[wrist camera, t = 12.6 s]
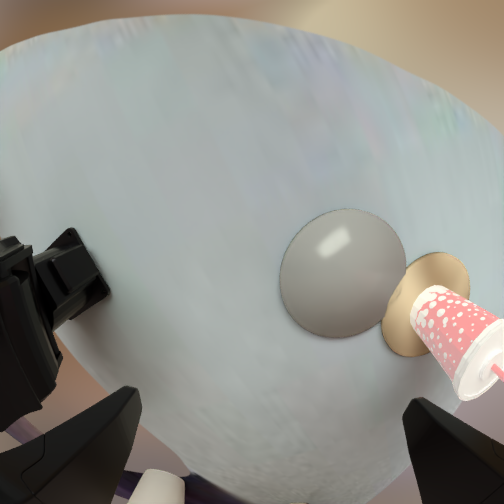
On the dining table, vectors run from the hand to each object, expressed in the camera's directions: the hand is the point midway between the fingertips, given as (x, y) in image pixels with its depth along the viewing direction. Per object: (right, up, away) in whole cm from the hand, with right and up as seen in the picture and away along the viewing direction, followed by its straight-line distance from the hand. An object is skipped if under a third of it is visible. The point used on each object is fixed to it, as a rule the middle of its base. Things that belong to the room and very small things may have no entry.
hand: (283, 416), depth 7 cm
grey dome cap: (+6, +3, +12) cm, 14 cm away
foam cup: (-14, -29, +21) cm, 39 cm away
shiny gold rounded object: (+15, 0, +13) cm, 20 cm away
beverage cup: (+15, 0, +13) cm, 19 cm away
